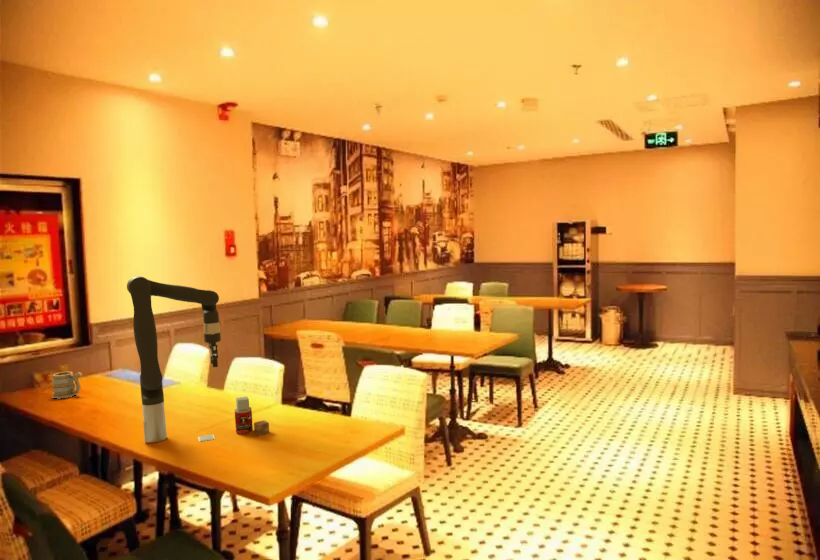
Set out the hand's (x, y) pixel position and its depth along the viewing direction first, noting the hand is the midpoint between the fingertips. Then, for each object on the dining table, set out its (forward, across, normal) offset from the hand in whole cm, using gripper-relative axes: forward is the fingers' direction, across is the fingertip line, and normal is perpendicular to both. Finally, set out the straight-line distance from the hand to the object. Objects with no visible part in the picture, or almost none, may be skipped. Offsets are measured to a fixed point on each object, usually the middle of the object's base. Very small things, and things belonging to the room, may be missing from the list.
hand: (214, 365), depth 282 cm
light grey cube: (+19, +15, +10) cm, 26 cm away
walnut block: (+30, +21, +17) cm, 41 cm away
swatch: (+30, +15, -7) cm, 34 cm away
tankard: (+30, -108, -74) cm, 134 cm away
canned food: (+30, +15, +10) cm, 35 cm away
